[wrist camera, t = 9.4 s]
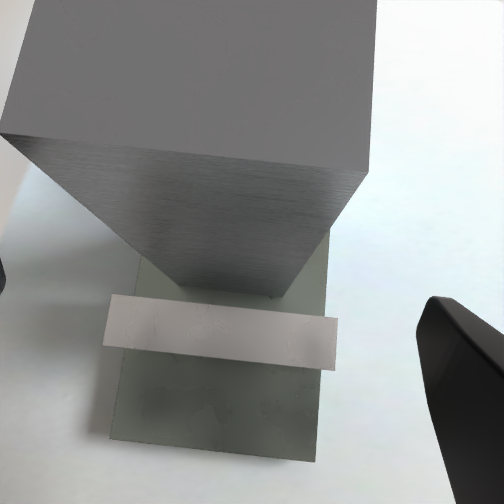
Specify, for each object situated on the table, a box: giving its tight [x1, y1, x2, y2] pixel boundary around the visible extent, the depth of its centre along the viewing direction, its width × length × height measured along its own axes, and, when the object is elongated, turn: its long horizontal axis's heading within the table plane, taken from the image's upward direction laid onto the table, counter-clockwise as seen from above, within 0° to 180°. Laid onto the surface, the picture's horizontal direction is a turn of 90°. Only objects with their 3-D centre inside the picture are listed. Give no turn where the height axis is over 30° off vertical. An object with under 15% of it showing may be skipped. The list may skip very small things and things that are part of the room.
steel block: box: [0, 0, 377, 297], centre depth 13 cm, size 4×5×14 cm
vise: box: [102, 229, 338, 462], centre depth 19 cm, size 18×9×4 cm, turn 174°
